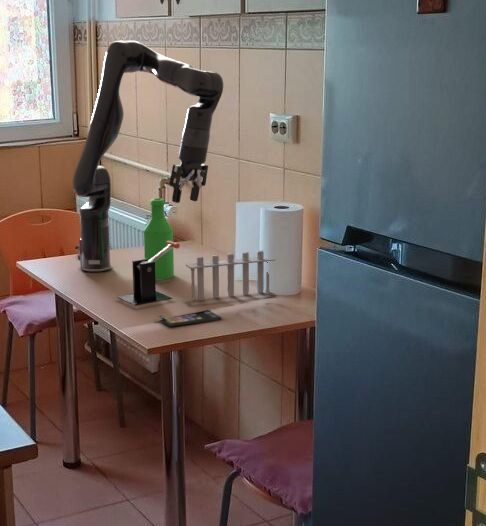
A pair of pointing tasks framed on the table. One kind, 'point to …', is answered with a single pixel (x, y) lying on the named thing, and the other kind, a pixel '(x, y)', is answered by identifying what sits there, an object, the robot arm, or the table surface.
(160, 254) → the lever
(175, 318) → the smartphone
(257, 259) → the test tube rack
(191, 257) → the table surface
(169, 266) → the bottle
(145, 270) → the bracket
